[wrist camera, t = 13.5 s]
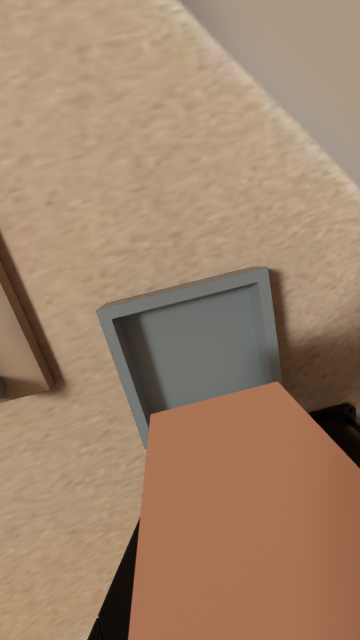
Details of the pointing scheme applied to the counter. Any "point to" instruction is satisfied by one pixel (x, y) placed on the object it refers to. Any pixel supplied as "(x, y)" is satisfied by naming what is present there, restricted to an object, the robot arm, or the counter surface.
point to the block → (246, 525)
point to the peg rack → (19, 349)
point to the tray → (193, 342)
